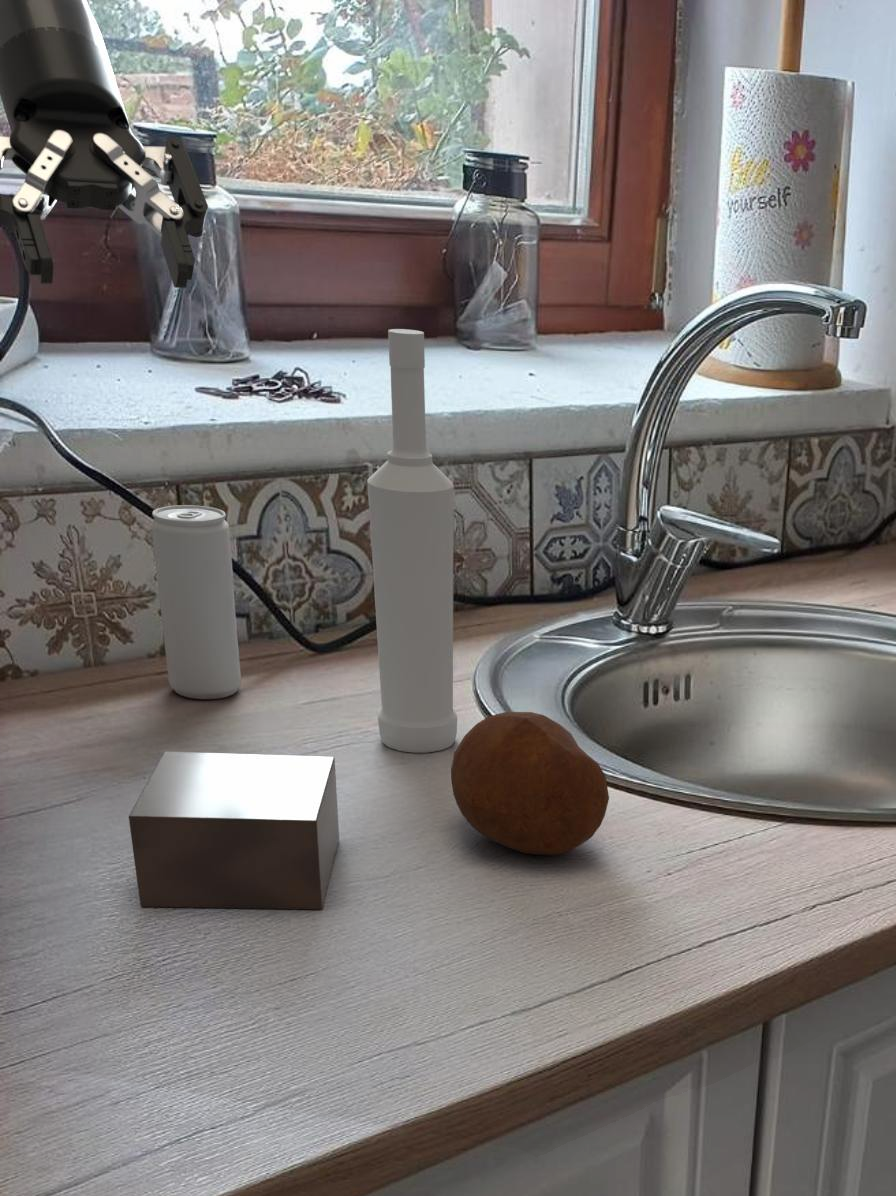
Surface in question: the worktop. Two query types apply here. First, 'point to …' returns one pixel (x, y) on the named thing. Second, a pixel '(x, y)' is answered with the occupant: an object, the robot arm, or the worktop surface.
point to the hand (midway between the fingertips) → (116, 277)
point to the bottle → (413, 568)
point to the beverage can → (197, 600)
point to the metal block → (236, 831)
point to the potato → (528, 784)
